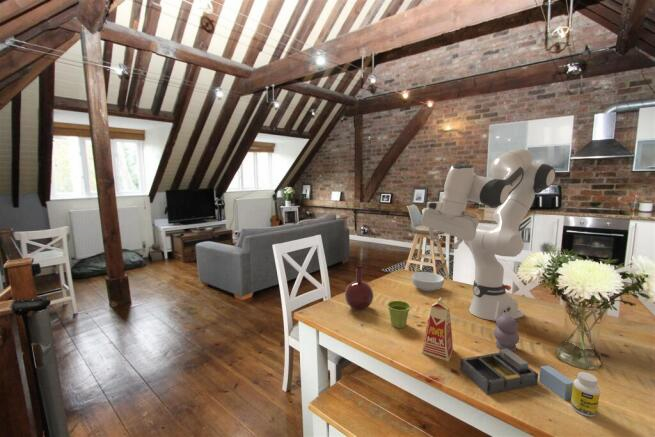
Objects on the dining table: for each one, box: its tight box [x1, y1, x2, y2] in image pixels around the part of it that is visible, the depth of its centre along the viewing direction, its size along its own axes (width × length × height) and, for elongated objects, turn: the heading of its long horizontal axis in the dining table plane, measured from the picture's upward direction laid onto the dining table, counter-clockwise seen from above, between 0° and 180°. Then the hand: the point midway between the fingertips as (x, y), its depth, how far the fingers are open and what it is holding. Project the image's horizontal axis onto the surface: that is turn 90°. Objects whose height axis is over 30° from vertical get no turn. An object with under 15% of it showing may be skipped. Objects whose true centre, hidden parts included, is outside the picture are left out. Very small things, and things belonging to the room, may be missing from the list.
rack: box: [459, 349, 539, 395], centre depth 96 cm, size 12×18×6 cm
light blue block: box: [538, 364, 574, 401], centre depth 90 cm, size 3×8×5 cm, turn 13°
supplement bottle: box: [570, 371, 601, 418], centre depth 82 cm, size 5×5×10 cm
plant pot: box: [387, 300, 412, 329], centre depth 129 cm, size 9×9×9 cm
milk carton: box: [421, 296, 454, 362], centre depth 109 cm, size 9×9×20 cm
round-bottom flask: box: [344, 266, 374, 311], centre depth 144 cm, size 13×13×20 cm
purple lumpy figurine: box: [493, 312, 520, 353], centre depth 111 cm, size 8×8×12 cm
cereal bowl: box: [411, 271, 445, 292], centre depth 168 cm, size 17×17×7 cm
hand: (442, 244), depth 115 cm, fingers open, 8 cm apart
